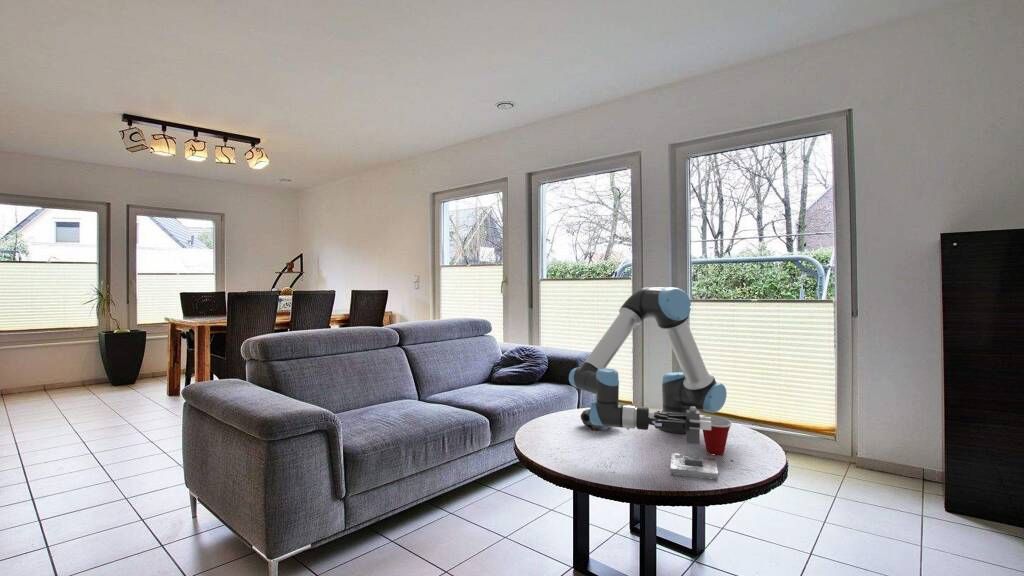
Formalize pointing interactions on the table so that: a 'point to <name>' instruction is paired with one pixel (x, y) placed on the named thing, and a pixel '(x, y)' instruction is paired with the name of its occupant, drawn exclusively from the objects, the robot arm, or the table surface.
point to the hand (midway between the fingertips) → (710, 423)
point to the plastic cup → (716, 435)
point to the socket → (693, 466)
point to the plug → (693, 434)
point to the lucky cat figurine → (586, 420)
